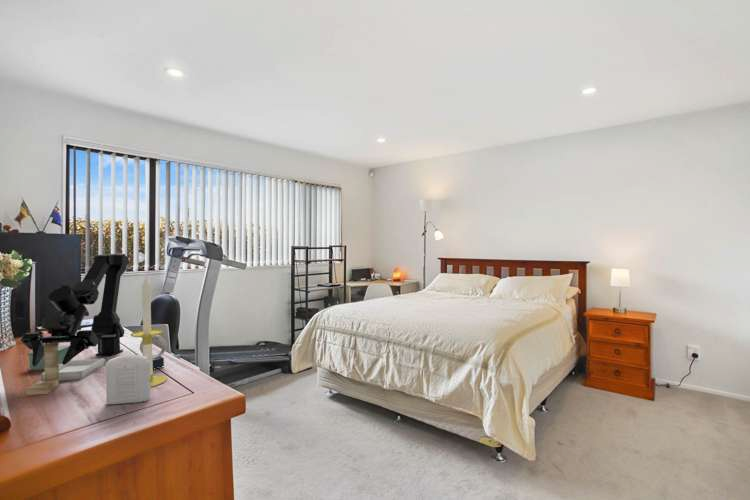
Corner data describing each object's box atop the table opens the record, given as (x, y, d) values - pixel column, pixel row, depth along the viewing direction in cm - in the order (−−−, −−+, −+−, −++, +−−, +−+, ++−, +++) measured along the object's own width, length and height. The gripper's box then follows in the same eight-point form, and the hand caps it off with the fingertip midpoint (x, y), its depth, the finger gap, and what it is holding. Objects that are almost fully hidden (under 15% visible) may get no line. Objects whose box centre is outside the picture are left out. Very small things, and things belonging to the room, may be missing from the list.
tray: (67, 367, 127) (67, 360, 127) (104, 365, 129) (104, 358, 129) (41, 381, 114) (40, 373, 114) (82, 378, 117) (81, 371, 116)
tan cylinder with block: (46, 384, 112) (45, 342, 112) (65, 382, 113) (64, 341, 113) (26, 395, 104) (25, 350, 104) (46, 393, 105) (45, 349, 105)
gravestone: (153, 396, 103) (152, 351, 103) (147, 402, 99) (146, 356, 99) (111, 399, 101) (110, 354, 100) (103, 406, 96) (102, 359, 96)
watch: (169, 365, 129) (169, 333, 129) (144, 371, 123) (143, 338, 122) (163, 362, 132) (162, 331, 132) (137, 368, 126) (137, 336, 126)
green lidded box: (72, 360, 135) (72, 342, 135) (57, 368, 126) (56, 349, 126) (45, 362, 133) (45, 344, 133) (28, 370, 125) (27, 351, 125)
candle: (171, 382, 113) (169, 275, 113) (133, 391, 106) (131, 278, 105) (160, 374, 120) (158, 274, 119) (124, 383, 113) (122, 276, 112)
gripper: (24, 306, 113) (-5, 353, 102) (92, 304, 116) (72, 349, 106) (42, 327, 121) (17, 372, 110) (106, 324, 124) (88, 367, 114)
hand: (48, 365), depth 110 cm, fingers open, 7 cm apart
